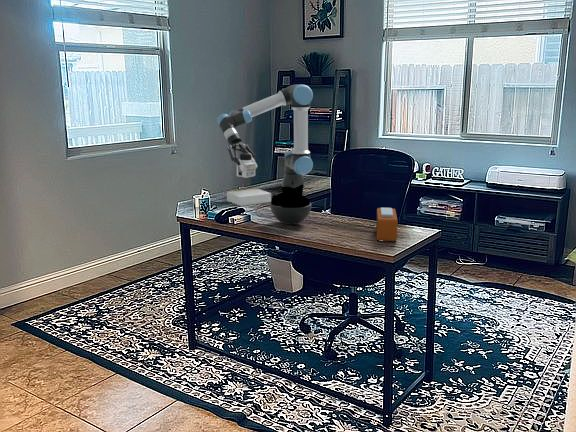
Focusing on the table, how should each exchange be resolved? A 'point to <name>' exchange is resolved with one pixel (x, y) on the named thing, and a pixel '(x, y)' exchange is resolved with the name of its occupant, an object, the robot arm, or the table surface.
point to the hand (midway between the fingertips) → (249, 168)
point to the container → (246, 166)
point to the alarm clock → (386, 224)
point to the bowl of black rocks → (290, 205)
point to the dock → (248, 197)
